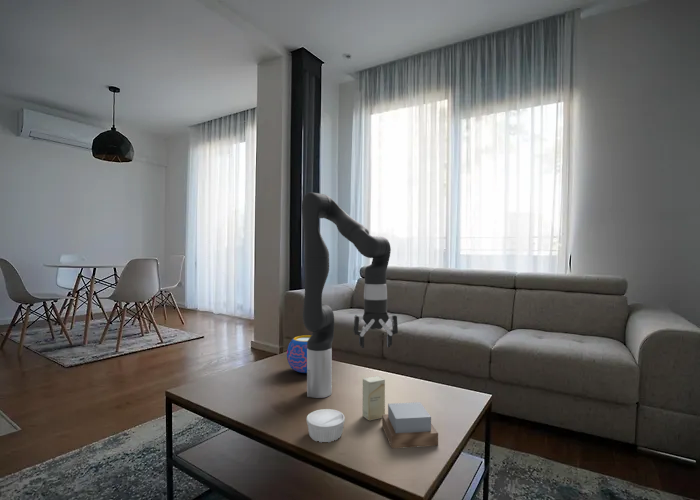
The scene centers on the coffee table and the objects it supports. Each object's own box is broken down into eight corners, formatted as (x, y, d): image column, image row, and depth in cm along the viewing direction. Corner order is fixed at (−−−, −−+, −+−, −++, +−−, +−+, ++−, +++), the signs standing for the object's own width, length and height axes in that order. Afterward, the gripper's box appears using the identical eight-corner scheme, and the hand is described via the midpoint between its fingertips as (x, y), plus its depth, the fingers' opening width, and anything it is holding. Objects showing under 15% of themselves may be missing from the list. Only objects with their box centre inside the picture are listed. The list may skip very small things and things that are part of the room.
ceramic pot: (333, 368, 167) (333, 335, 167) (313, 380, 150) (313, 344, 150) (300, 363, 174) (300, 332, 174) (278, 375, 158) (278, 340, 158)
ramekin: (340, 446, 100) (340, 427, 100) (301, 443, 101) (301, 424, 101) (347, 427, 111) (347, 410, 111) (312, 424, 112) (312, 407, 113)
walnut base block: (392, 450, 99) (391, 435, 99) (382, 427, 112) (382, 414, 112) (438, 447, 100) (438, 433, 100) (423, 425, 113) (423, 412, 113)
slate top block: (395, 433, 100) (395, 418, 100) (388, 416, 110) (388, 403, 110) (431, 431, 101) (431, 416, 101) (420, 415, 111) (420, 402, 111)
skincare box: (368, 421, 114) (368, 382, 114) (361, 415, 118) (361, 378, 118) (385, 417, 117) (385, 379, 117) (378, 411, 121) (378, 375, 121)
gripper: (355, 299, 114) (355, 350, 114) (399, 298, 116) (399, 349, 116) (352, 296, 122) (352, 344, 122) (394, 295, 123) (394, 343, 123)
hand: (375, 347), depth 119 cm, fingers open, 8 cm apart
